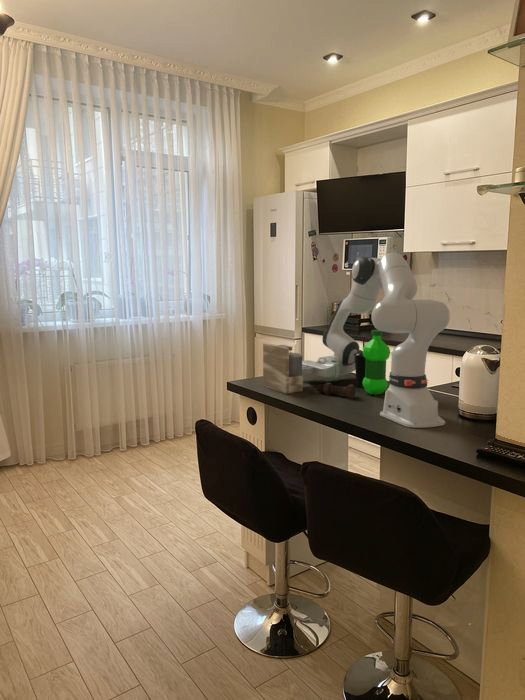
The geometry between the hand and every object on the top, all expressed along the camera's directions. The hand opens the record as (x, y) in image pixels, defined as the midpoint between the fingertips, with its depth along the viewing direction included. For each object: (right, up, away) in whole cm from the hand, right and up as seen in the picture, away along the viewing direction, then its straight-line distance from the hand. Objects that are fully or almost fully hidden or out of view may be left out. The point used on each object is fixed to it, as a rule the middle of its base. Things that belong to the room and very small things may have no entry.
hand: (299, 370), depth 223 cm
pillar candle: (-4, -7, -1) cm, 8 cm away
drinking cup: (+26, -7, 0) cm, 27 cm away
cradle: (-7, -7, -4) cm, 11 cm away
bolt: (+13, -9, -14) cm, 21 cm away
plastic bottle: (+29, -9, -11) cm, 32 cm away
